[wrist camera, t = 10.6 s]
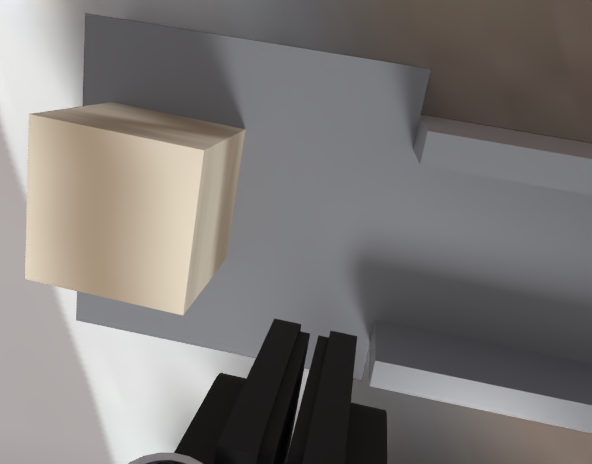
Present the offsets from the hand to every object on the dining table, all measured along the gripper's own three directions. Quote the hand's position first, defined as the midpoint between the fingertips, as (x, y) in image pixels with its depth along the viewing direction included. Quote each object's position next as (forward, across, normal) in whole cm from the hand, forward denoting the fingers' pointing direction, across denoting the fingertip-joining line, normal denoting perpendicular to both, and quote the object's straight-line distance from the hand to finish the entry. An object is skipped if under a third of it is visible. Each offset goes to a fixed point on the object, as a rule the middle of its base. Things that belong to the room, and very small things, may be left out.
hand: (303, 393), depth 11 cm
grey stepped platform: (+13, -7, -1) cm, 15 cm away
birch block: (+10, +7, -1) cm, 12 cm away
